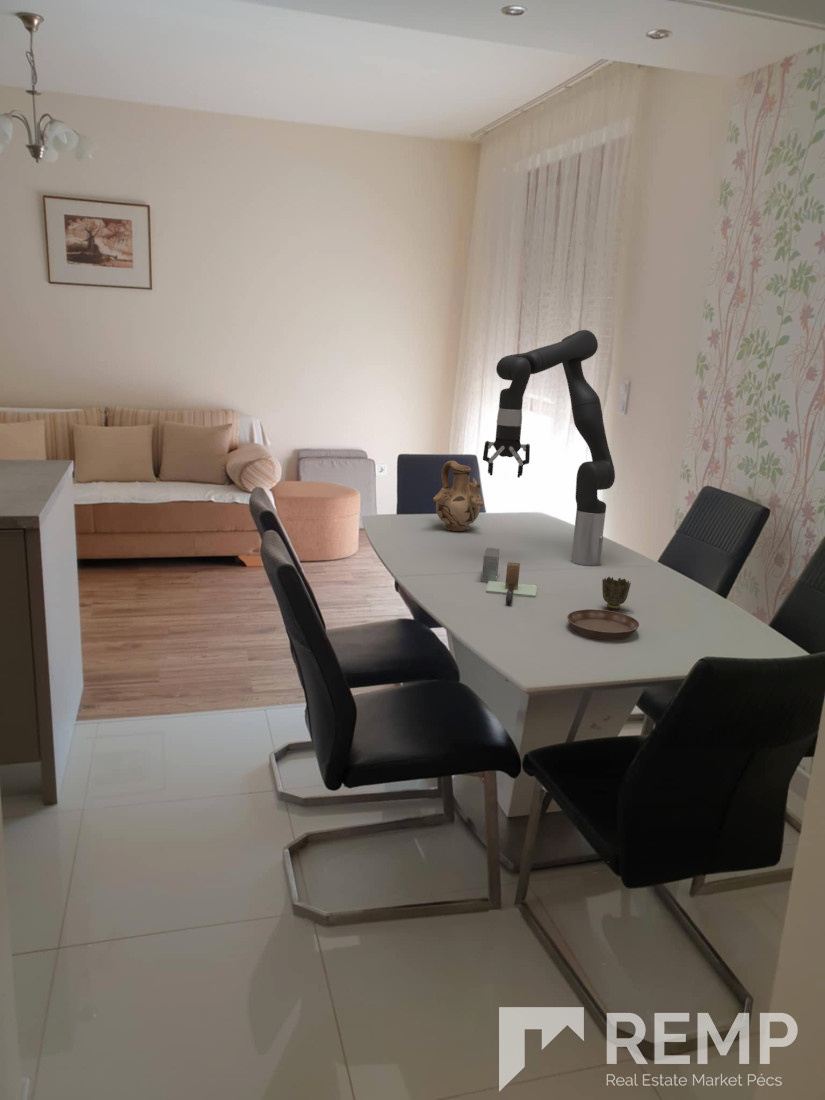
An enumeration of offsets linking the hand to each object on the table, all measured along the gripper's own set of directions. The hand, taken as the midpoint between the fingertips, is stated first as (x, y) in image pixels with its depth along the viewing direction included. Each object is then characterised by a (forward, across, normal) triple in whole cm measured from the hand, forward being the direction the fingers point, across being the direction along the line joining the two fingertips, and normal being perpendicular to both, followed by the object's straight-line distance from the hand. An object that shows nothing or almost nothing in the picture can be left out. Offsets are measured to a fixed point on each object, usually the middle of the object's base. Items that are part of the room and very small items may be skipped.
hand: (504, 476), depth 260 cm
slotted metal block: (+28, +1, +18) cm, 33 cm away
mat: (+28, -6, +28) cm, 40 cm away
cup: (+28, -34, +36) cm, 57 cm away
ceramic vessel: (+28, +18, -42) cm, 54 cm away
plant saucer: (+29, -30, +55) cm, 69 cm away
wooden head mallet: (+27, -6, +35) cm, 45 cm away
